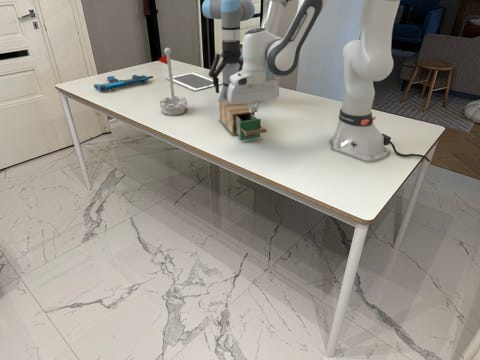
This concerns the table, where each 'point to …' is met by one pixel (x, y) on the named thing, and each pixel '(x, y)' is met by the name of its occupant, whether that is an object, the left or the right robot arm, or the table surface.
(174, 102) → the flag stand
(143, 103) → the table surface
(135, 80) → the submachine gun
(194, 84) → the tablet
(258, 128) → the drawer
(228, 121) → the tan storage bin
